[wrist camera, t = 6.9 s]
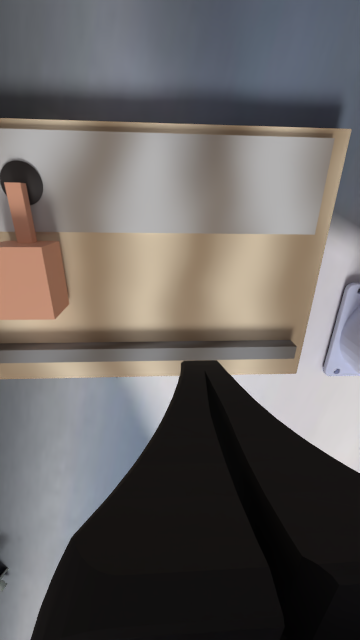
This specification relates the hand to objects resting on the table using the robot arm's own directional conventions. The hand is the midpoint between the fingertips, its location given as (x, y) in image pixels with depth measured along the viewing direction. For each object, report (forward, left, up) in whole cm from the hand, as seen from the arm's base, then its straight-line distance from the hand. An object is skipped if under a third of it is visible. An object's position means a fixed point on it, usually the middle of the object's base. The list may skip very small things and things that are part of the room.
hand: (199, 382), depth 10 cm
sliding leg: (+9, -4, -9) cm, 13 cm away
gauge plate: (+5, -2, -10) cm, 12 cm away
